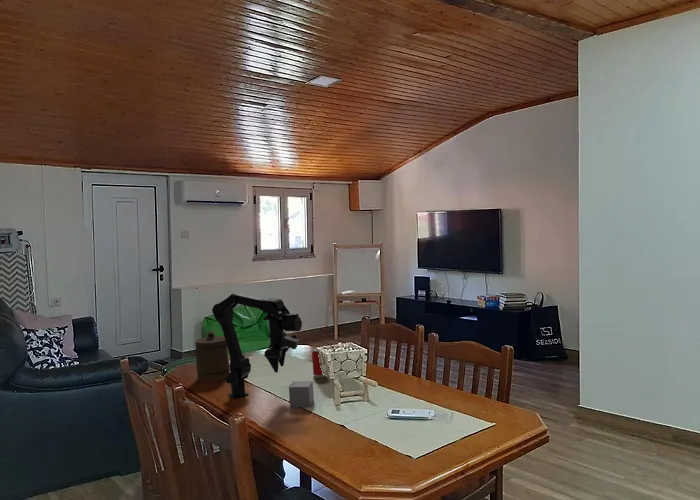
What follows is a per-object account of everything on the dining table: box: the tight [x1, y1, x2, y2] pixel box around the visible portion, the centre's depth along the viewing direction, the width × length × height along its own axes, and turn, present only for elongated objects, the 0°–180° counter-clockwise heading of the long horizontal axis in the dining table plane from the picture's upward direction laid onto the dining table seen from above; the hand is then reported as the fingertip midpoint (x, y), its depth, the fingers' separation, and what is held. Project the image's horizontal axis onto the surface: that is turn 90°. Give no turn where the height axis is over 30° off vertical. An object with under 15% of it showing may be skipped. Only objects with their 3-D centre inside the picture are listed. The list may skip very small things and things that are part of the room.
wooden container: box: [195, 330, 230, 382], centre depth 276 cm, size 15×15×22 cm
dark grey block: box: [288, 380, 315, 408], centre depth 228 cm, size 8×8×8 cm
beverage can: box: [311, 348, 325, 378], centre depth 268 cm, size 6×6×12 cm
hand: (279, 369), depth 236 cm, fingers open, 9 cm apart
